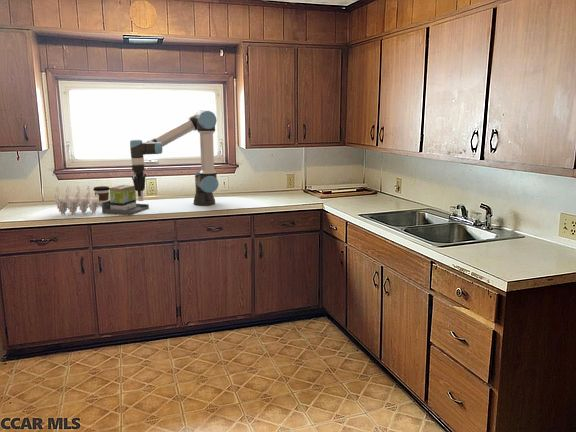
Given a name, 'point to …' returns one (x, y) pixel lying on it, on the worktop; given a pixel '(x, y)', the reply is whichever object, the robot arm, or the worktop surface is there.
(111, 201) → the tea box
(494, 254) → the worktop surface
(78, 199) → the grey translucent row part
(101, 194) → the coffee cup
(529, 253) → the worktop surface
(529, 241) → the worktop surface
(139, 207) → the tray
